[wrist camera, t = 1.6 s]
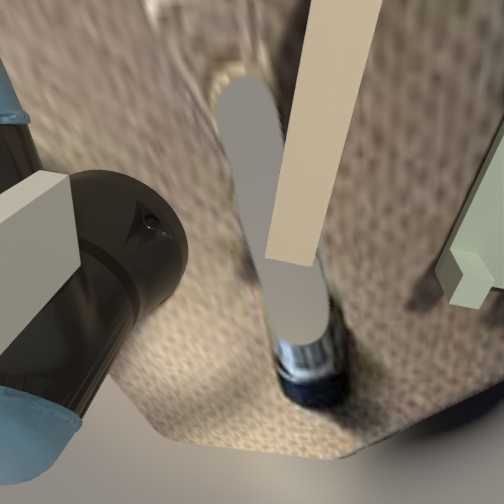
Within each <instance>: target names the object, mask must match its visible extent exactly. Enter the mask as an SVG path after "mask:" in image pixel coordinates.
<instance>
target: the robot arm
mask: <svg viewBox="0 0 504 504" xmlns="http://www.w3.org/2000/svg"><path fill="white" fill-rule="evenodd" d="M29 123H31V121H30V117H29V115H28V114H27V113H26V112H25V111H23V110H22V107H21V105H20V103H19V100H18V98H17V96H16V93H15V91H14V89H13V86H12V84H11V81H10V79H9V77H8V74H7V72H6V70H5V67H4V65H3V63H2V60H1V58H0V485H12V484H19V483H23V482H26V481H29V480H32V479H33V478H35V477H37V476H39V475H40V474H42V473H43V472H45V471H47V470H48V469H49V468H50V467H51V466H52V465H53V464H54V463H55V461H56V460H57V459H58V457H59V455H60V454H61V452H62V451H63V450H64V448H65V446H66V445H67V444H68V442H69V441H70V440H71V438H72V437H73V435H74V434H75V432H77V431H78V430H79V429H80V427H81V426H82V422H83V421H82V419H83V417H84V415H85V413H86V411H87V410H88V408H89V406H90V404H91V402H92V400H93V399H94V397H95V395H96V393H97V391H98V390H99V388H100V386H101V384H102V383H103V381H104V379H105V377H106V375H107V374H108V372H109V370H110V368H111V367H112V365H113V363H114V361H115V359H116V358H117V356H118V354H119V352H120V350H121V349H122V347H123V345H124V343H125V341H126V340H127V338H128V336H129V334H130V332H131V330H132V329H133V327H134V325H135V323H136V322H137V321H138V320H140V319H141V318H142V317H144V316H145V315H146V314H147V313H149V312H150V311H151V310H152V309H154V308H155V307H156V306H157V305H159V304H160V303H162V302H163V301H165V300H166V299H167V298H168V297H169V296H170V295H171V294H172V292H173V291H174V290H175V288H176V287H177V285H178V283H179V281H180V279H181V277H182V275H183V273H184V271H185V268H186V265H187V260H188V244H187V238H186V235H185V231H184V229H183V226H182V224H181V222H180V220H179V218H178V217H177V215H176V214H175V212H174V211H173V209H172V208H171V207H170V206H169V204H168V203H167V202H166V201H165V200H164V199H163V198H162V197H161V196H160V195H159V194H158V193H156V192H155V191H154V190H153V189H151V188H150V187H148V186H147V185H145V184H143V183H142V182H140V181H138V180H136V179H134V178H132V177H129V176H127V175H124V174H121V173H117V172H113V171H106V170H88V171H82V172H78V173H75V174H73V175H70V176H69V175H66V174H60V173H54V172H48V171H44V170H43V167H42V164H41V161H40V158H39V155H38V153H37V150H36V147H35V144H34V141H33V139H32V136H31V133H30V130H29V127H28V125H27V124H29Z"/></svg>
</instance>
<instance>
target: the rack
mask: <svg viewBox="0 0 504 504" xmlns="http://www.w3.org/2000/svg"><path fill="white" fill-rule="evenodd" d="M434 271H435V273H436V276H437V278H438V280H439V283H440V285H441V287H442V290H443V292H444V294H445V297H446V299H447V301H448V304H453V305H458V306H464V307H469V308H474V309H479V308H480V306H481V304H482V303H483V301H484V299H485V298H486V296H487V294H488V292H489V291H490V289H491V287H497V288H502V289H504V121H503V123H502V125H501V127H500V130H499V132H498V134H497V136H496V138H495V140H494V142H493V145H492V147H491V149H490V151H489V153H488V155H487V158H486V160H485V162H484V164H483V166H482V168H481V170H480V173H479V175H478V177H477V179H476V181H475V183H474V185H473V188H472V190H471V192H470V194H469V196H468V198H467V200H466V203H465V205H464V207H463V209H462V211H461V213H460V215H459V218H458V220H457V222H456V224H455V226H454V228H453V231H452V233H451V235H450V237H449V239H448V241H447V243H446V246H445V248H444V250H443V252H442V254H441V256H440V258H439V261H438V263H437V265H436V267H435V269H434Z"/></svg>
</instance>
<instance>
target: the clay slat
mask: <svg viewBox="0 0 504 504" xmlns="http://www.w3.org/2000/svg"><path fill="white" fill-rule="evenodd" d="M381 4H382V0H312V1H311V6H310V11H309V17H308V22H307V28H306V33H305V39H304V44H303V49H302V55H301V60H300V66H299V71H298V77H297V82H296V87H295V93H294V98H293V104H292V109H291V115H290V120H289V125H288V131H287V136H286V142H285V147H284V153H283V159H282V163H281V169H280V174H279V180H278V185H277V191H276V196H275V201H274V207H273V212H272V218H271V223H270V228H269V234H268V239H267V245H266V251H265V256H264V258H267V259H272V260H277V261H283V262H288V263H293V264H299V265H303V266H308V267H312V264H313V260H314V256H315V253H316V249H317V245H318V241H319V238H320V234H321V230H322V226H323V223H324V219H325V215H326V211H327V207H328V204H329V200H330V196H331V192H332V189H333V185H334V181H335V177H336V173H337V170H338V166H339V162H340V158H341V155H342V151H343V147H344V143H345V140H346V136H347V132H348V128H349V124H350V121H351V117H352V113H353V109H354V106H355V102H356V98H357V94H358V90H359V87H360V83H361V79H362V75H363V72H364V68H365V64H366V60H367V56H368V53H369V49H370V45H371V41H372V38H373V34H374V30H375V26H376V23H377V19H378V15H379V11H380V7H381Z"/></svg>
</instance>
